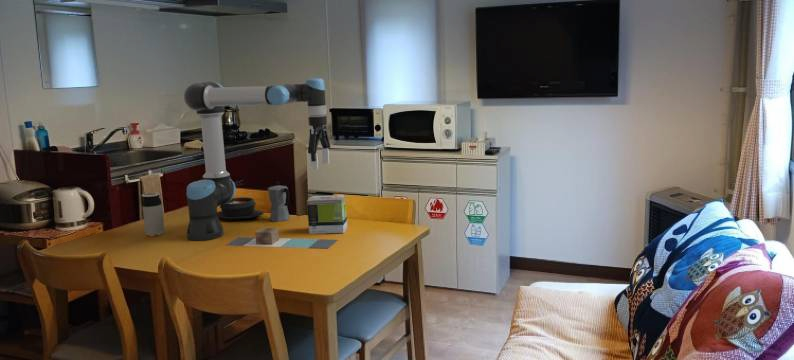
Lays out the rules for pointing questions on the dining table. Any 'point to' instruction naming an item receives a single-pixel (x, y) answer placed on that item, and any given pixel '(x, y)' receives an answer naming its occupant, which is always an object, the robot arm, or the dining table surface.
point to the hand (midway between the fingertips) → (320, 166)
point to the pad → (300, 243)
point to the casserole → (239, 209)
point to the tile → (276, 244)
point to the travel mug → (153, 214)
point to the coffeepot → (279, 203)
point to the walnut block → (267, 236)
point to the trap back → (240, 241)
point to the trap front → (323, 244)
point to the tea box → (327, 214)
